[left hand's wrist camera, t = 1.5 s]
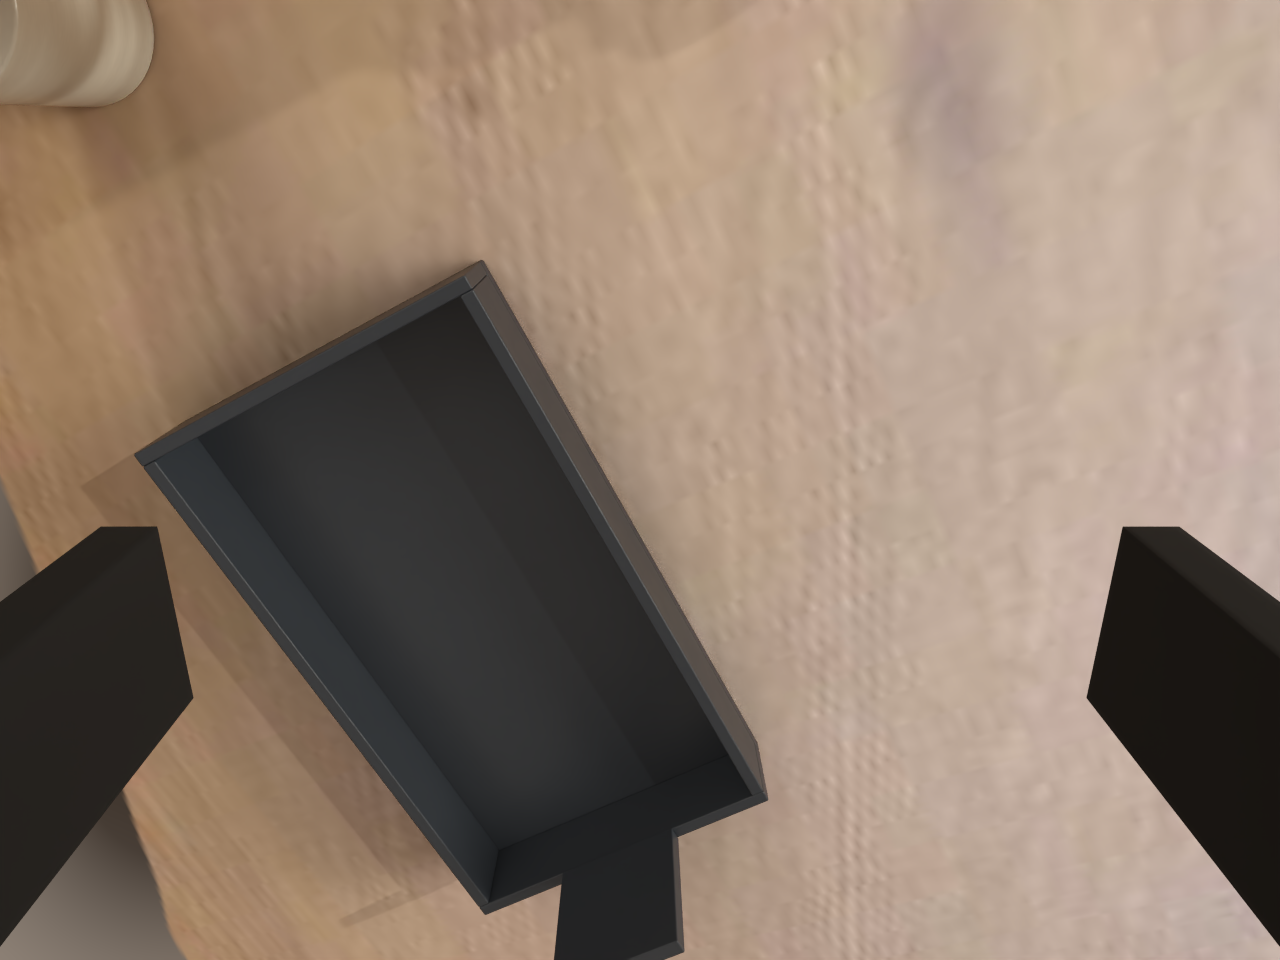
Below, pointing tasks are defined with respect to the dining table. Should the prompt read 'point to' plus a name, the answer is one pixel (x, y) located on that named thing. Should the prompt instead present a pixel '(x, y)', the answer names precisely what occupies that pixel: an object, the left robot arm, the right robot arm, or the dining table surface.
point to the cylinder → (73, 51)
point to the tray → (474, 610)
